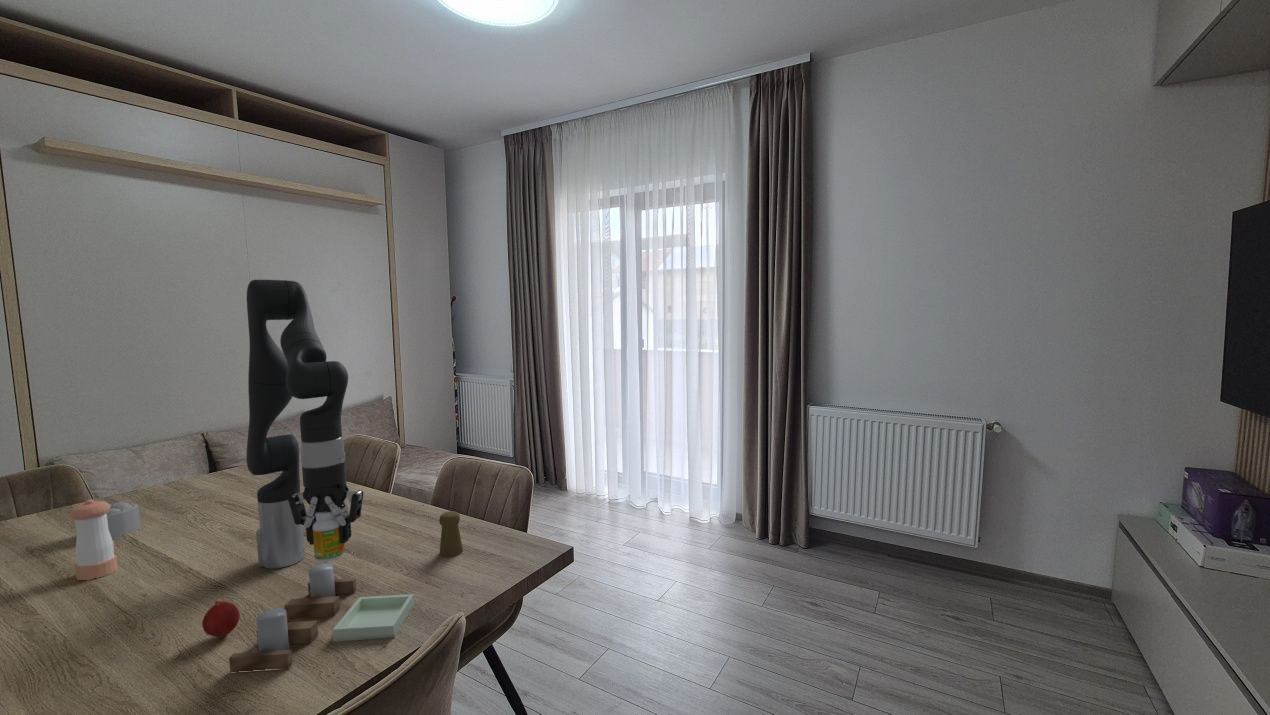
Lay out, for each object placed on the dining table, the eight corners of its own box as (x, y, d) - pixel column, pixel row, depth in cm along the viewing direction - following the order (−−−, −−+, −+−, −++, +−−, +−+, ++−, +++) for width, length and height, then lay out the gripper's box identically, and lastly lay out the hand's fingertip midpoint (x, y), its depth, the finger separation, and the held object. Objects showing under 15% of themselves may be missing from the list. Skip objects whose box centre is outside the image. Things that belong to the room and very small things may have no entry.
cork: (455, 558, 136) (453, 518, 135) (434, 556, 137) (432, 516, 136) (467, 548, 142) (465, 509, 141) (447, 546, 143) (445, 507, 142)
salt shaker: (124, 568, 133) (116, 496, 131) (86, 583, 126) (78, 506, 124) (107, 564, 135) (99, 493, 134) (69, 578, 128) (60, 503, 127)
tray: (333, 641, 102) (332, 629, 102) (360, 608, 113) (359, 597, 113) (394, 637, 103) (393, 625, 103) (414, 604, 114) (413, 594, 114)
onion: (218, 629, 107) (214, 592, 106) (247, 627, 107) (244, 590, 106) (196, 647, 101) (192, 608, 100) (227, 645, 101) (224, 606, 100)
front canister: (254, 664, 96) (250, 623, 95) (269, 648, 100) (266, 609, 99) (280, 662, 96) (276, 621, 95) (294, 646, 100) (291, 607, 100)
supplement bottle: (323, 565, 102) (319, 517, 101) (309, 558, 105) (306, 512, 104) (350, 554, 106) (347, 508, 105) (337, 548, 109) (333, 503, 108)
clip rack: (230, 673, 93) (229, 657, 93) (311, 593, 120) (310, 580, 120) (288, 669, 94) (287, 653, 94) (356, 590, 121) (355, 578, 120)
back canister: (307, 609, 113) (304, 574, 113) (318, 597, 118) (315, 564, 117) (329, 607, 114) (326, 572, 113) (339, 596, 118) (336, 562, 118)
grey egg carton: (75, 538, 152) (71, 509, 152) (134, 522, 163) (131, 496, 163) (85, 546, 147) (82, 516, 146) (146, 529, 158) (143, 502, 157)
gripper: (274, 467, 100) (281, 552, 101) (351, 464, 100) (357, 549, 102) (298, 457, 107) (304, 536, 108) (368, 454, 108) (374, 533, 109)
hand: (329, 542), depth 105 cm, fingers closed on supplement bottle, 5 cm apart
